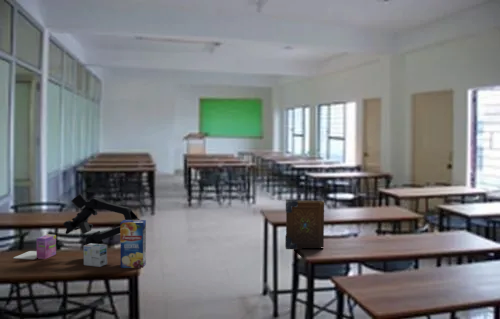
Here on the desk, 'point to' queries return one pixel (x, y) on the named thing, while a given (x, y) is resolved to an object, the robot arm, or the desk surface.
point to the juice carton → (133, 243)
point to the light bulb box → (95, 255)
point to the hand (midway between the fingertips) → (66, 233)
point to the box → (46, 246)
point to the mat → (27, 255)
